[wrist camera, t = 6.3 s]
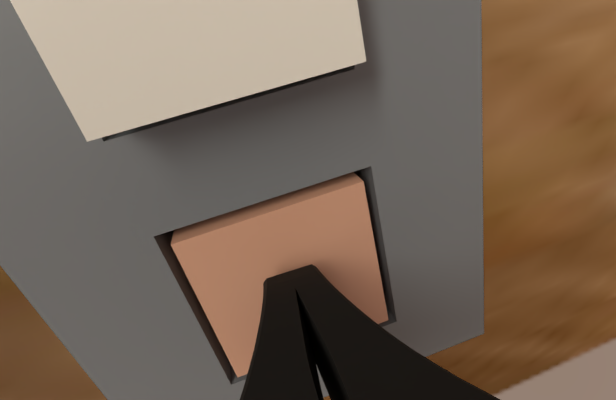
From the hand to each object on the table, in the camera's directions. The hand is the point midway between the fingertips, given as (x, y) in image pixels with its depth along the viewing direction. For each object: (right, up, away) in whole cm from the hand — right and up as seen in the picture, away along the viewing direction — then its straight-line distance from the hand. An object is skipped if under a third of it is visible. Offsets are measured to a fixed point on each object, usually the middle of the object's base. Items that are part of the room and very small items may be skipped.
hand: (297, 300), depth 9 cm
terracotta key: (-1, +1, +2) cm, 3 cm away
